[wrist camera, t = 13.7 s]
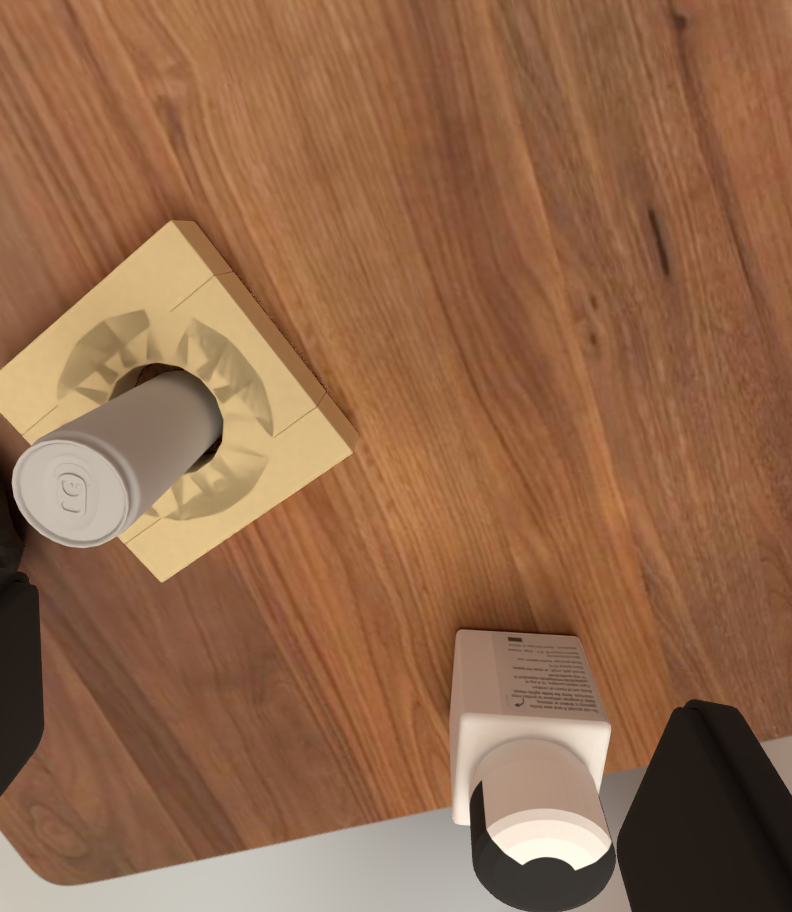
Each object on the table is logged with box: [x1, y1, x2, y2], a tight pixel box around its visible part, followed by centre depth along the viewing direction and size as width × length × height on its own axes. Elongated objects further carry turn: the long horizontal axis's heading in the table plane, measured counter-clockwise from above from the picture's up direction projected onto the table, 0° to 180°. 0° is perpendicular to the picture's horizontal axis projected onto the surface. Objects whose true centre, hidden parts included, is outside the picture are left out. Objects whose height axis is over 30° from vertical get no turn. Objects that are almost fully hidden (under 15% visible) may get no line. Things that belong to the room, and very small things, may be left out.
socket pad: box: [0, 220, 359, 583], centre depth 33 cm, size 14×14×3 cm
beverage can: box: [12, 370, 223, 548], centre depth 29 cm, size 5×5×12 cm
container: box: [449, 629, 616, 912], centre depth 34 cm, size 8×8×13 cm
